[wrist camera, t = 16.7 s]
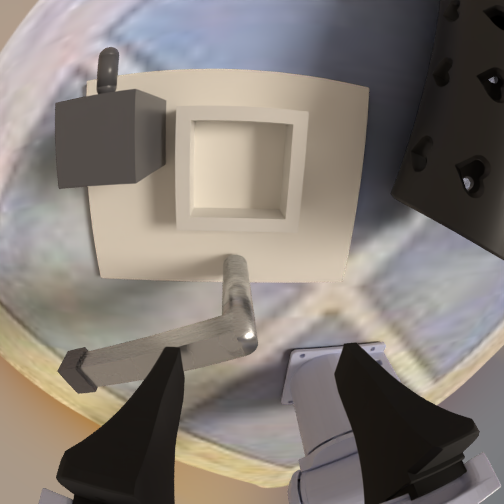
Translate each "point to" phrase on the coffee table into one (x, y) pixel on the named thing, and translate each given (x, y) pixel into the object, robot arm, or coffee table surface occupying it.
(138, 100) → the plug
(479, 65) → the muzzle brake
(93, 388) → the clip
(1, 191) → the coffee table surface
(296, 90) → the socket base
